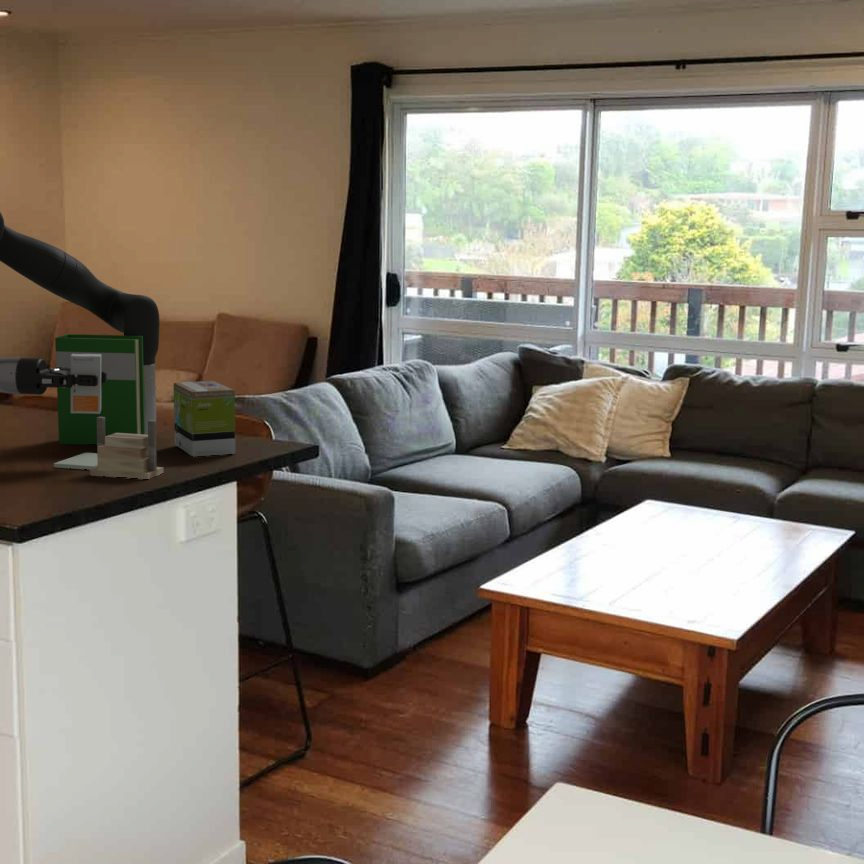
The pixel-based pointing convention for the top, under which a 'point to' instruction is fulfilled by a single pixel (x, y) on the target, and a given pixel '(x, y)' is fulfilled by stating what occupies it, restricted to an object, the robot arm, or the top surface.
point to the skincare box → (86, 396)
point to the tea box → (204, 418)
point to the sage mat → (79, 462)
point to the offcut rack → (126, 453)
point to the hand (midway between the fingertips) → (101, 379)
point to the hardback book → (104, 387)
